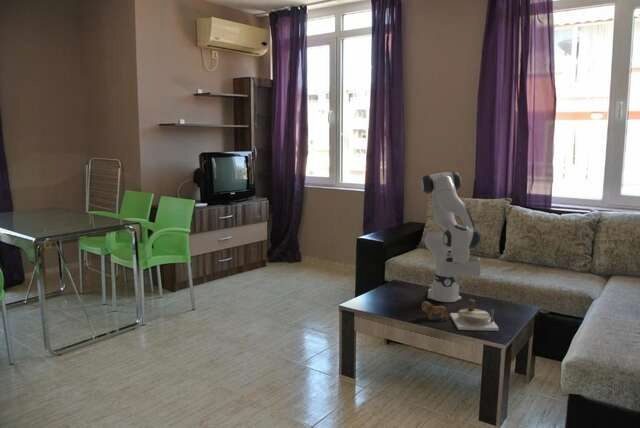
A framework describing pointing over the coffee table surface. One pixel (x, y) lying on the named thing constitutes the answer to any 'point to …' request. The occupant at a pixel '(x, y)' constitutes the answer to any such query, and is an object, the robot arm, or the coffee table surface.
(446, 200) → the robot arm
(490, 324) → the post base
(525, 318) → the coffee table surface
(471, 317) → the beige round knobbed piece
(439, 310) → the lion figurine
